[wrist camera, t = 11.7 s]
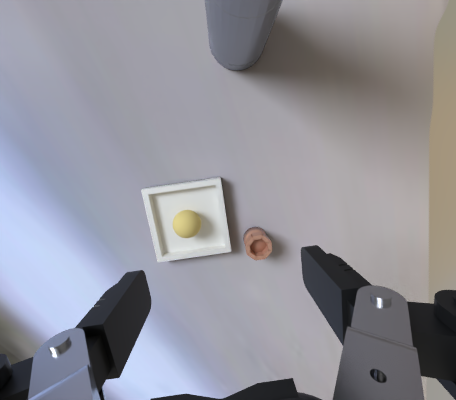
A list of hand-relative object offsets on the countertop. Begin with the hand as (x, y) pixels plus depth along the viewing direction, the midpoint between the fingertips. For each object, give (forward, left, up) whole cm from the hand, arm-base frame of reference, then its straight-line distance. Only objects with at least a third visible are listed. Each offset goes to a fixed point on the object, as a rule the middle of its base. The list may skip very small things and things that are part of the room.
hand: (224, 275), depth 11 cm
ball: (+5, -7, -27) cm, 28 cm away
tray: (+5, -7, -30) cm, 31 cm away
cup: (+11, +5, -30) cm, 32 cm away
